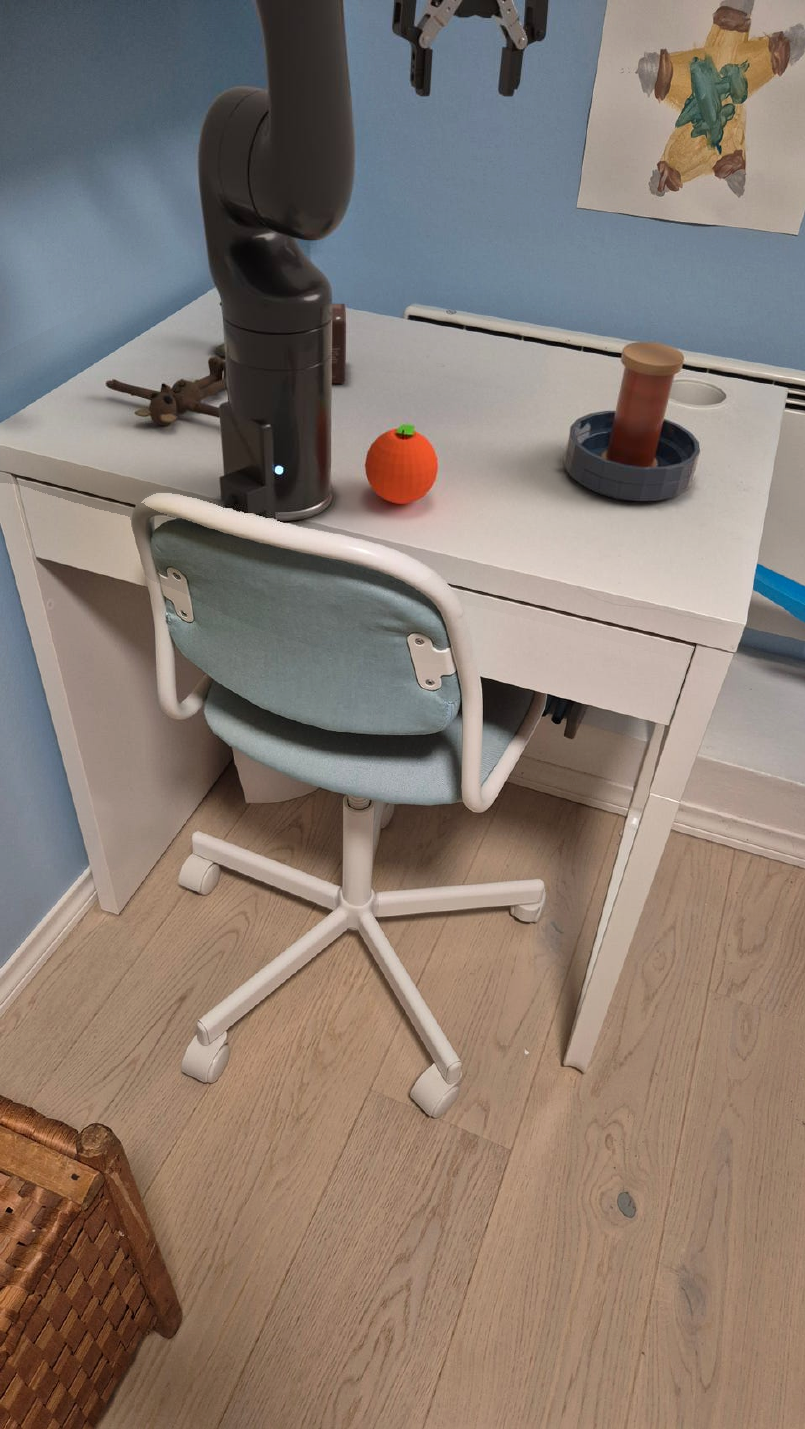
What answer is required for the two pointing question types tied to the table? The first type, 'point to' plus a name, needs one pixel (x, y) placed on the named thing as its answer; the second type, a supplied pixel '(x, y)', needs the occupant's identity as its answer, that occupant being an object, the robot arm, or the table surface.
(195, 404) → the bear figurine
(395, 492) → the clementine
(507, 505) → the table surface
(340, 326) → the box
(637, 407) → the spool
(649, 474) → the bowl
